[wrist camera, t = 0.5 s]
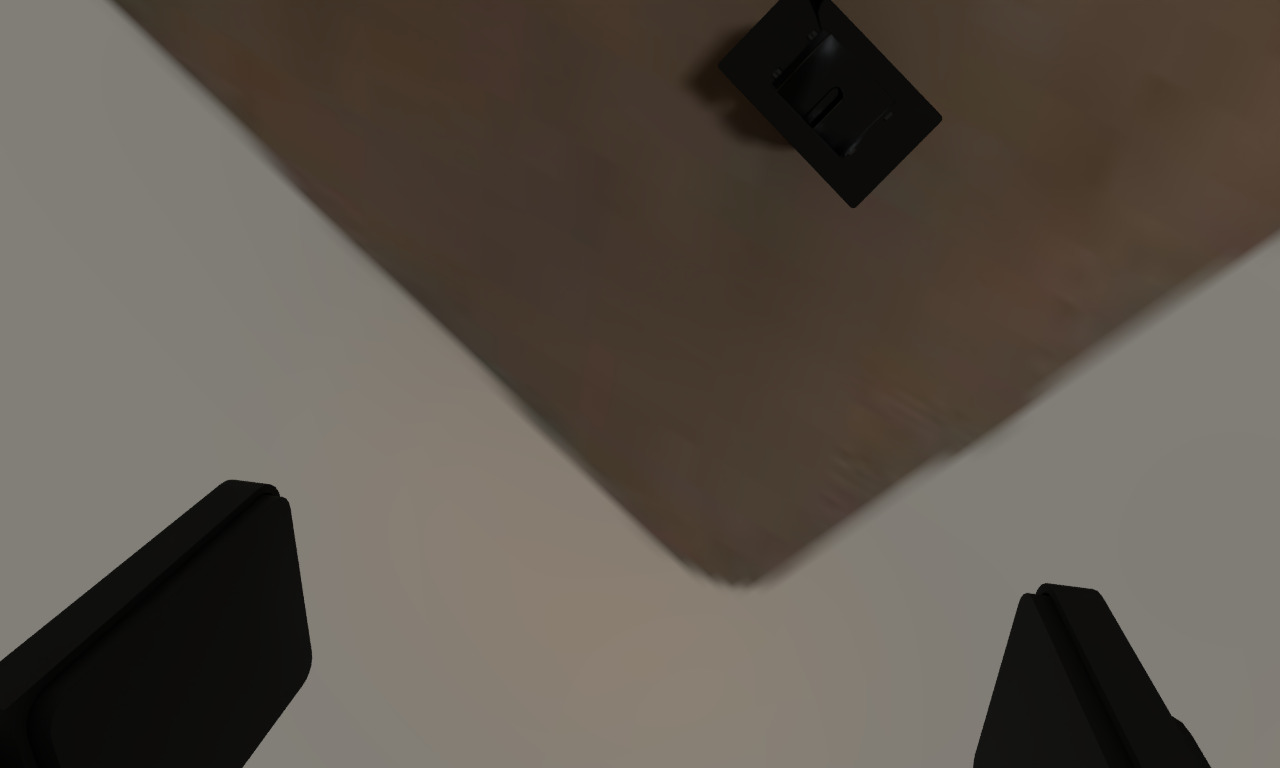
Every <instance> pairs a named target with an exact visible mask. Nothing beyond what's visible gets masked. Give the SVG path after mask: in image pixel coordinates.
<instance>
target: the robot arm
mask: <svg viewBox="0 0 1280 768" xmlns="http://www.w3.org/2000/svg"><path fill="white" fill-rule="evenodd" d="M311 663H312V650H311V643H310V637H309V630H308V623H307V616H306V610H305V603H304V596H303V590H302V583H301V576H300V569H299V562H298V556H297V549H296V542H295V535H294V529H293V522H292V515H291V508H290V505H289V502H288V501H287V499H286V498H284V497H280V494H279V492H278V490H277V489H276V487H274V486H272V485H270V484H263V483H255V482H248V481H239V480H227V481H225V482H223V483H222V484H221V485H219V486H218V487H217V488H215V489H214V490H213V491H211V492H210V493H209V494H208V495H207V496H205V497H204V498H203V499H202V500H200V501H199V502H198V503H197V504H195V505H194V506H193V507H192V508H190V509H189V510H188V511H187V512H185V513H184V514H183V515H182V516H181V517H179V518H178V519H177V520H175V521H174V522H173V523H172V524H171V525H169V526H168V527H167V528H165V529H164V530H163V531H162V532H161V533H159V534H158V535H157V536H156V537H154V538H153V539H152V540H151V541H149V542H148V543H147V544H146V545H144V546H143V547H142V548H141V549H139V550H138V551H137V552H136V553H134V554H133V555H132V556H131V557H129V558H128V559H127V560H126V561H124V562H123V563H122V564H121V565H119V566H118V567H117V568H116V569H115V570H113V571H112V572H111V573H110V574H109V575H107V576H106V577H105V578H103V579H102V580H101V581H100V582H98V583H97V584H96V585H95V586H93V587H92V588H91V589H90V590H88V591H87V592H86V593H85V594H83V595H82V596H81V597H80V598H78V599H77V600H76V601H75V602H74V603H72V604H71V605H70V606H68V607H67V608H66V609H65V610H64V611H62V612H61V613H60V614H59V615H57V616H56V617H55V618H54V619H52V620H51V621H50V622H49V623H47V624H46V625H45V626H44V627H42V628H41V629H40V630H39V631H37V632H36V633H35V634H34V635H32V636H31V637H30V638H29V639H27V640H26V641H25V642H24V643H23V644H21V645H20V646H19V647H17V648H16V649H15V650H14V651H13V652H11V653H10V654H9V655H8V656H6V657H5V658H4V659H3V660H2V661H0V768H242V767H243V766H244V765H245V763H246V762H247V761H248V759H249V758H250V757H251V755H252V754H253V752H254V751H255V750H256V748H257V747H258V746H259V744H260V743H261V742H262V740H263V739H264V737H265V736H266V735H267V733H268V732H269V731H270V729H271V728H272V726H273V725H274V724H275V722H276V721H277V719H278V718H279V717H280V716H281V714H282V713H283V711H284V710H285V709H286V707H287V706H288V705H289V703H290V702H291V701H292V699H293V698H294V696H295V695H296V694H297V692H298V691H299V690H300V688H301V687H302V685H303V684H304V682H305V680H306V679H307V677H308V674H309V671H310V668H311ZM973 768H1211V767H1210V765H1209V764H1208V762H1207V760H1206V758H1205V757H1204V755H1203V753H1202V752H1201V750H1200V748H1199V747H1198V745H1197V743H1196V742H1195V740H1194V738H1193V736H1192V735H1191V733H1190V732H1189V731H1188V730H1187V728H1186V727H1185V726H1184V724H1183V723H1182V722H1180V721H1179V720H1177V719H1176V718H1174V717H1173V716H1171V714H1170V712H1169V711H1168V709H1167V707H1166V705H1165V704H1164V702H1163V700H1162V698H1161V697H1160V695H1159V693H1158V692H1157V690H1156V688H1155V686H1154V685H1153V683H1152V681H1151V680H1150V678H1149V676H1148V674H1147V673H1146V671H1145V669H1144V668H1143V666H1142V664H1141V662H1140V661H1139V659H1138V657H1137V655H1136V654H1135V652H1134V650H1133V649H1132V647H1131V645H1130V644H1129V642H1128V640H1127V638H1126V637H1125V635H1124V633H1123V631H1122V630H1121V628H1120V626H1119V625H1118V623H1117V621H1116V619H1115V617H1114V616H1113V614H1112V612H1111V611H1110V609H1109V607H1108V605H1107V604H1106V602H1105V600H1104V599H1103V597H1102V596H1101V595H1100V593H1099V592H1098V591H1096V590H1094V589H1087V588H1080V587H1072V586H1064V585H1056V584H1048V583H1045V584H1042V585H1041V586H1040V587H1039V588H1038V590H1037V592H1036V594H1030V593H1026V594H1023V596H1022V597H1021V599H1020V601H1019V604H1018V608H1017V611H1016V615H1015V618H1014V622H1013V625H1012V629H1011V632H1010V636H1009V639H1008V643H1007V646H1006V649H1005V653H1004V656H1003V660H1002V663H1001V667H1000V670H999V673H998V677H997V680H996V684H995V687H994V691H993V694H992V698H991V701H990V705H989V708H988V712H987V715H986V719H985V722H984V726H983V729H982V732H981V736H980V739H979V743H978V747H977V750H976V753H975V758H974V765H973Z"/></svg>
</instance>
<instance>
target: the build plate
mask: <svg viewBox="0 0 1280 768" xmlns="http://www.w3.org/2000/svg"><path fill="white" fill-rule="evenodd" d="M718 67H719V69H720V70H721V71H722V72H723V73H724V74H725V75H726V76H727V78H728V79H729V80H730V81H731V82H732V83H733V84H734V85H735V86H736V87H737V88H738V89H739V90H740V91H741V92H742V93H743V94H744V95H745V96H746V98H747V99H748V100H749V101H750V102H751V103H752V104H753V105H754V106H755V107H756V108H757V109H758V110H759V111H760V112H761V113H762V114H763V115H764V117H765V118H766V119H767V120H768V121H769V122H770V123H771V124H772V125H773V126H774V127H775V128H776V129H777V130H778V131H779V132H780V133H781V134H782V135H783V137H784V138H785V139H786V140H787V141H788V142H789V143H790V144H791V145H792V146H793V147H794V148H795V149H796V150H797V151H798V152H799V153H800V154H801V156H802V157H803V158H804V159H805V160H806V161H807V162H808V163H809V164H810V165H811V166H812V167H813V168H814V169H815V170H816V171H817V172H818V173H819V174H820V176H821V177H822V178H823V179H824V180H825V181H826V182H827V183H828V184H829V185H830V186H831V187H832V188H833V189H834V190H835V191H836V192H837V193H838V195H839V196H840V197H841V198H842V199H843V200H844V201H845V202H846V203H847V204H848V205H849V206H850V207H851V208H855V207H857V206H858V205H859V204H860V203H861V202H862V201H863V200H864V199H865V198H866V197H867V196H868V195H869V194H870V193H871V192H872V191H873V190H874V189H875V188H876V187H877V186H878V185H879V183H880V182H881V181H882V180H883V179H884V178H885V177H886V176H887V175H888V174H889V173H890V172H891V171H892V170H893V169H894V168H895V167H896V166H897V165H898V164H899V163H900V162H901V161H902V160H903V159H904V158H905V157H906V156H907V155H908V154H909V153H910V152H911V151H912V150H913V149H914V148H915V147H916V146H917V145H918V144H919V143H920V142H921V141H922V140H923V139H924V138H925V137H926V136H927V135H928V134H929V133H930V132H931V131H932V130H933V129H934V128H935V127H936V126H937V125H938V124H939V123H940V122H941V121H942V116H941V115H940V114H939V113H938V112H937V111H936V109H935V108H934V107H933V106H932V105H931V104H930V103H929V102H928V101H927V100H926V99H925V98H924V97H923V96H922V95H921V94H920V93H919V92H918V91H917V90H916V89H915V88H914V86H913V85H912V84H911V83H910V82H909V81H908V80H907V79H906V78H905V77H904V76H903V75H902V74H901V73H900V72H899V71H898V70H897V69H896V68H895V67H894V66H893V65H892V63H891V62H890V61H889V60H888V59H887V58H886V57H885V56H884V55H883V54H882V53H881V52H880V51H879V50H878V49H877V48H876V47H875V46H874V45H873V44H872V43H871V42H870V40H869V39H868V38H867V37H866V36H865V35H864V34H863V33H862V32H861V31H860V30H859V29H858V28H857V27H856V26H855V25H854V24H853V23H852V22H851V21H850V20H849V19H848V18H847V16H846V15H845V14H844V13H843V12H842V11H841V10H840V9H839V8H838V7H837V6H836V5H835V4H834V3H833V2H832V1H831V0H779V1H778V2H777V3H776V4H775V5H774V6H773V7H772V8H771V10H770V11H769V12H768V13H767V14H766V15H765V16H764V17H763V18H762V19H761V20H760V21H759V22H758V23H757V24H756V25H755V26H754V27H753V28H752V29H751V30H750V31H749V32H748V33H747V35H746V36H745V37H744V38H743V39H742V40H741V41H740V42H739V43H738V44H737V45H736V46H735V47H734V48H733V49H732V50H731V51H730V52H729V53H728V54H727V55H726V56H725V57H724V58H723V59H722V61H721V62H720V63H719V65H718Z"/></svg>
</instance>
